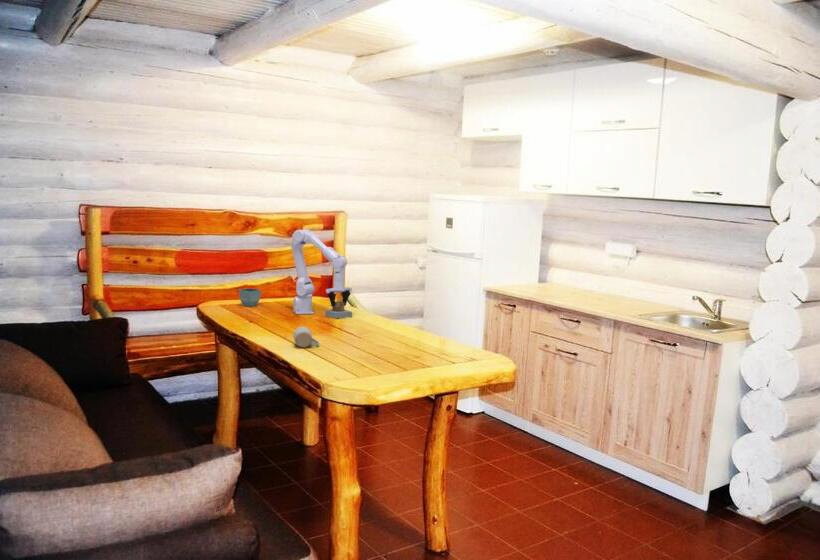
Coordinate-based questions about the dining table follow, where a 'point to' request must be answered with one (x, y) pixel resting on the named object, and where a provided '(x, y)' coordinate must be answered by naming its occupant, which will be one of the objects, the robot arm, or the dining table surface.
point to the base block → (338, 314)
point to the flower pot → (249, 296)
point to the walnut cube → (338, 306)
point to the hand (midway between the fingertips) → (338, 305)
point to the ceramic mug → (304, 337)
